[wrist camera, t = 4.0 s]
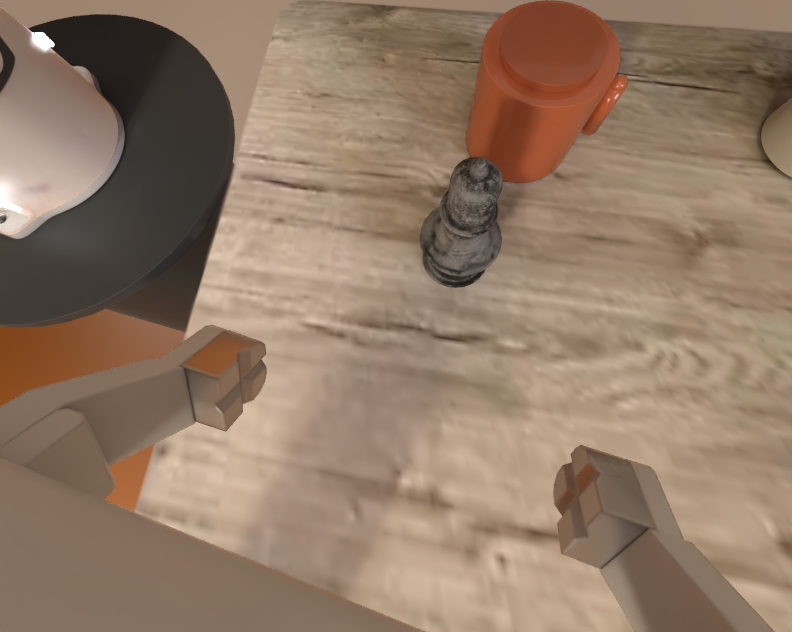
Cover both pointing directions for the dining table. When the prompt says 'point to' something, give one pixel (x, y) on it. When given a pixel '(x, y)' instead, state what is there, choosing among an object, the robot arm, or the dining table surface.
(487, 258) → the grey chess piece
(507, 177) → the coffee cup
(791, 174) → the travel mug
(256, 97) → the dining table surface
